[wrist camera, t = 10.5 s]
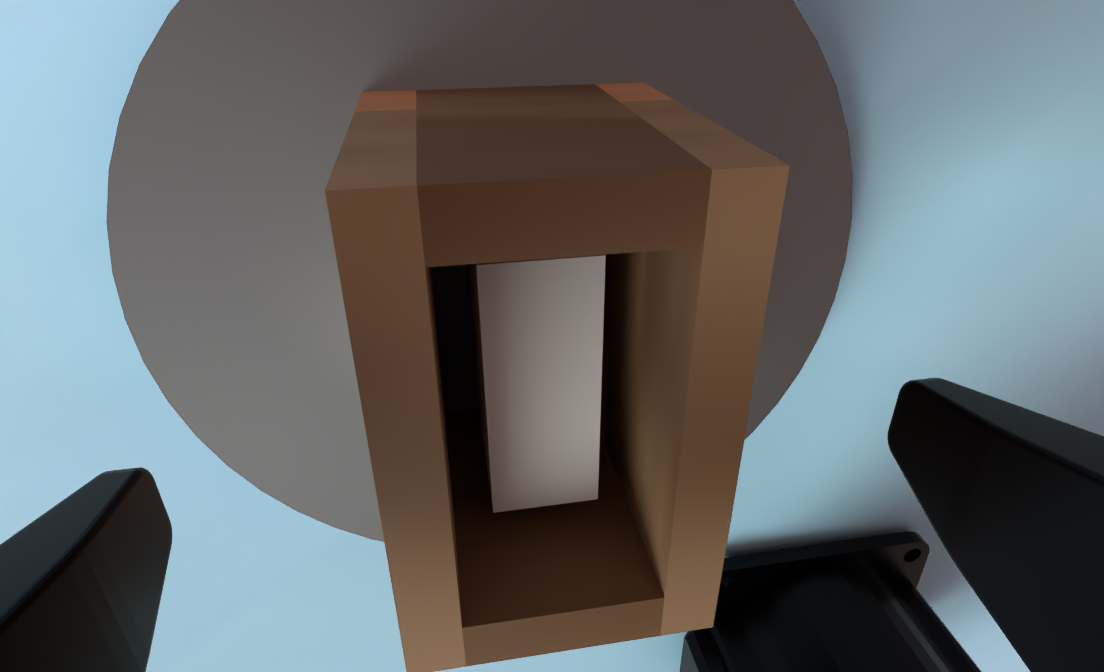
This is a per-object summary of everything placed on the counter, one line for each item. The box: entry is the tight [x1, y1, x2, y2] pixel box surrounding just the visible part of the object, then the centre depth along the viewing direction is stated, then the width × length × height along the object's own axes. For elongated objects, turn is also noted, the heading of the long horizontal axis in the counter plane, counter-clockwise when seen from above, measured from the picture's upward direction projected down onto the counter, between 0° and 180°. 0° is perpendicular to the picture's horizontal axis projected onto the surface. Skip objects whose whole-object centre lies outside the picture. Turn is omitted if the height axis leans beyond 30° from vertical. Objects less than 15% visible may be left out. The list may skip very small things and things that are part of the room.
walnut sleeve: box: [325, 82, 790, 672], centre depth 10 cm, size 7×4×5 cm, turn 0°
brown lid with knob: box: [107, 0, 852, 542], centre depth 11 cm, size 13×13×4 cm
